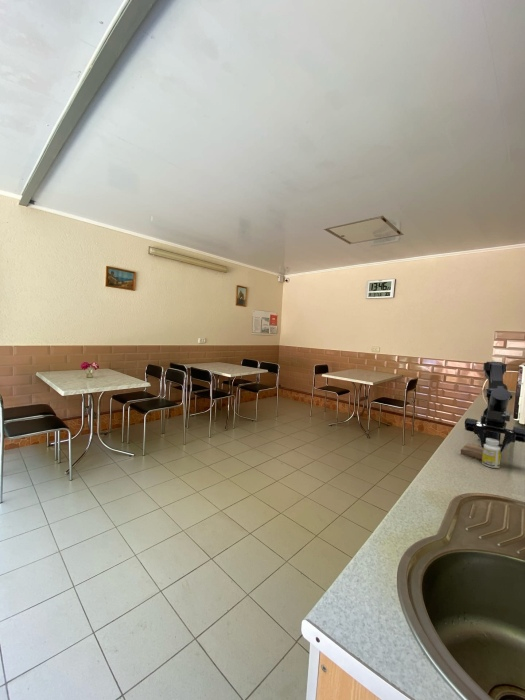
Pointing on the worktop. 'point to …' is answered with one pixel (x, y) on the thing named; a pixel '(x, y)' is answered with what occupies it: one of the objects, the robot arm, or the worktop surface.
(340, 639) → the worktop surface
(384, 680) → the worktop surface
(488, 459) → the supplement bottle
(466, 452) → the dock
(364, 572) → the worktop surface
